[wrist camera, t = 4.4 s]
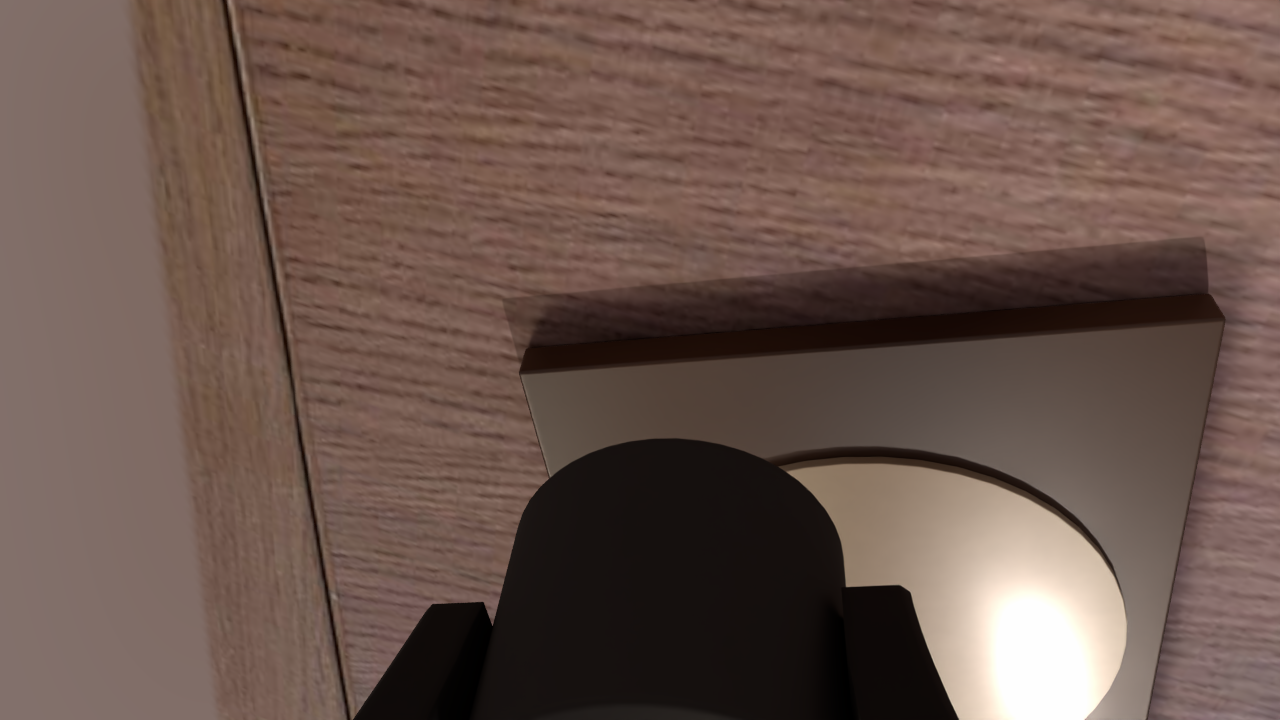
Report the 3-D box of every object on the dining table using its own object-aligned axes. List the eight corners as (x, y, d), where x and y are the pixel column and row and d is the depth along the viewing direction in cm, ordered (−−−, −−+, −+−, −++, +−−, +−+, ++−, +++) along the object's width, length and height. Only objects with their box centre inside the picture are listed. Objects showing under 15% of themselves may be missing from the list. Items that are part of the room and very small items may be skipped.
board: (655, 815, 29) (652, 850, 28) (525, 346, 20) (515, 378, 19) (1115, 813, 27) (1126, 851, 26) (1210, 291, 18) (1232, 325, 17)
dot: (555, 665, 14) (506, 926, 12) (481, 446, 12) (399, 706, 9) (850, 656, 14) (874, 931, 11) (832, 422, 11) (856, 695, 9)
